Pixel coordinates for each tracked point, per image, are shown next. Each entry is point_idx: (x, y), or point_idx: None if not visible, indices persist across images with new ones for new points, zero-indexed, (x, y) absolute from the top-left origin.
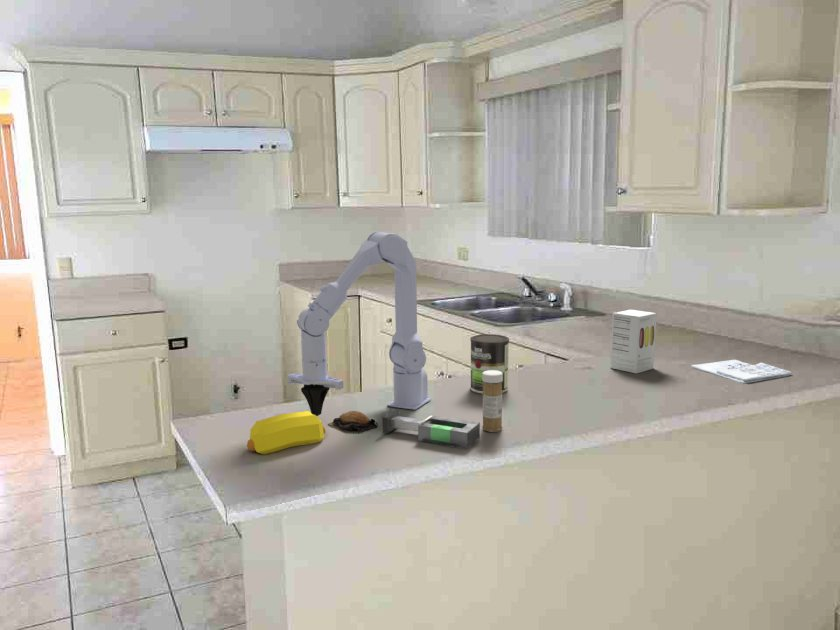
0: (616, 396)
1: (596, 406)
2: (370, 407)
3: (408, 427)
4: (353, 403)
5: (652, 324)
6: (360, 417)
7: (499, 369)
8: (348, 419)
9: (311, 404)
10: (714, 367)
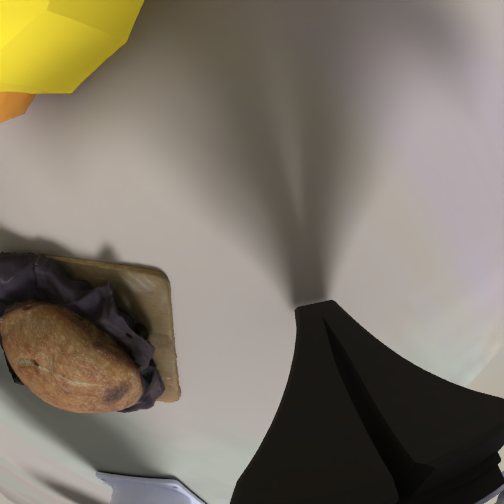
0: (29, 497)
1: (5, 479)
2: (212, 466)
3: None
4: None
5: None
6: (9, 362)
7: None
8: (20, 325)
9: (350, 352)
10: None
